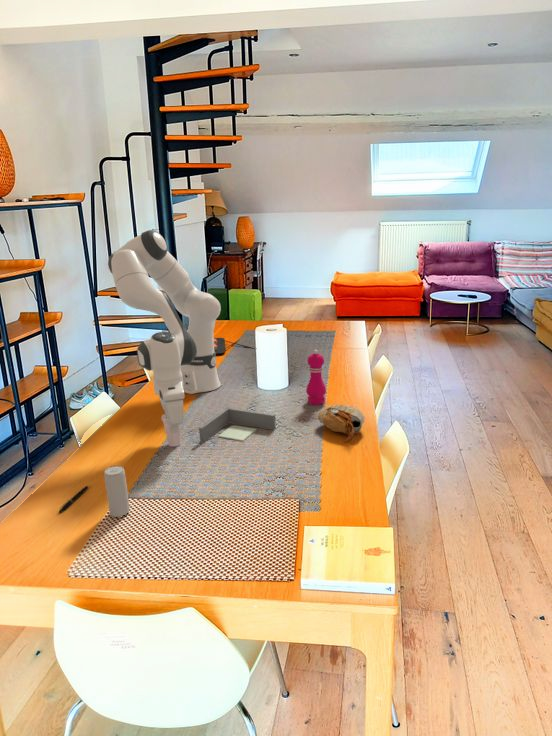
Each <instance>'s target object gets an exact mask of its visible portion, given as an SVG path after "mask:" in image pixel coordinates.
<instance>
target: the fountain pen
mask: <svg viewBox="0 0 552 736" xmlns="http://www.w3.org/2000/svg"><path fill="white" fill-rule="evenodd" d="M90 485H91V483H89V484H88V485H85V486H84V487H83V488H82V489H81V490H80V491H78V492H77V493H76V494H75V495H73V496H72V497H71V498H70V499H67V500H66V501H65V502H64V503H63V504H62V505H61V506H60V507H59V510H58V513H59V514H60V513H63V512H64V511H66V510H67V509H69V507H71V505H72V504H74V502H75V501H76V500H78V499H79V498H80V497H81V496H82V495H83V494H84V493H85V492H86V491H87V490H88V488H89V487H90Z"/></svg>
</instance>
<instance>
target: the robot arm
mask: <svg viewBox="0 0 552 736" xmlns="http://www.w3.org/2000/svg"><path fill="white" fill-rule="evenodd" d="M107 267H108V270H109V272H110V273H111V274H112V277H113V282H114V285H115V288H116V292H117V294H118V296H119V300H121V301H122V303H124V305H126V306H128V307H130V308H132V309H135V310H139V311H140V310H141V311H146V312H150V313H154V314H156V315H158V316H159V317H160V318H162V321H164V324H165V326H166V328H167V329H168V331H159V332H156V333H153V334H151V336H150V338H148V339H145V340H143V341H141V342H140V344H139V345H138V347H137V349H136V354H137V362H138V366H140V367H142V368H143V369H144V370H147V371H149V372H150V371H152V373H153V374H152V383H153V389H154V390H153V391H154V394H155V395H157V396H158V398H159V399H160V400H159V401H160V404H161V407H162V408H163V411H164V414H165V413H166V415H167V418H168V420H169V422H170V424H171V429H172V433H178V425H179V424H181V425H182V424H183V422H184V400H183V399H185V393H186V394H188V395H193V394H194V395H195V394H197V393H204V392H210V391H211V392H212V391H214V390H218V389H219V388H220V387H221V385H222V384H221V382H220V379H219V375H218V374H219V373H218V369H217V356H216V355H217V354H216V353H215V351H214V339H213V338H214V330H215V324H216V320H217V318H219V316H220V314H221V311H222V309H221V308H222V307H221V303H220V301H219V300H218V299H217V298H216V297H215V296H214V295H212V294H211V293H209V292H204V291H201V290H199V289H198V288H197V287H196V286H195V285H194V284H193V282H192V280H191V278H190V275H189V272H187V271H186V270H185V269H184V267H183V266H182V265H181V263H180V262H179V261H178V260H177V259H176V258H175V257H174V256H173V255H172V254H171V253H170V252H169V250H168V244H167V242H166V240H165V238H164V237H163V235H161V233H159V231H156V230H154V229H149V230H146V231H144V232H141V234H139V235H137V236H134V237H133V238H132V239H130V240H128V241H127V242H126V243H125V244H124V245H122V246H121V247H120V248H118V249H117V250H116V251H113V253H111V254H110V256H109V257H108V260H107ZM150 277H151V279H152V280H153V281H154V282H155V283H156V284H157V285H158V286H159V288H161V289H162V290H163V291H162V290H160V289H158V288H157V287H156V286H155V285H154V283H153V282H152V280H151V279H150ZM177 311H178V312H179V314H181V315H182V316H185V317H187V318H188V321H189V322H188V327H187V329H186V327H185V326H184V324H183V321H182V320H181V317H180V316H179V314H178V312H177Z"/></svg>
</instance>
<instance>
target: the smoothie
mask: <svg viewBox="0 0 552 736" xmlns="http://www.w3.org/2000/svg"><path fill="white" fill-rule="evenodd" d="M161 421H162V422H163V426H164V431H165V435H166V438H167V444H168V446H169V447H178V446H180V445H181V444H182V443H181V442H182V441H181V440H182V438H181V437H182V424H179V425H178V433H172V429H171V424H170V422H169V420H168V418H167V415H166V413H165V412H164V414H162V415H161Z"/></svg>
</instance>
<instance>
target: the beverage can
mask: <svg viewBox="0 0 552 736" xmlns="http://www.w3.org/2000/svg"><path fill="white" fill-rule="evenodd" d="M125 471H126V470H125V468H124V466H121V465H113V466H110V467H107V468H106V469H105V470H104V474H103V475H104V476H103V477H104V483H105V489H106V490H105V491H106V495H107V496H106V497H107V502H108V503H107V504H108V509H109V510H108V511H109V515H110V516H111V517H113V516H114V517H113V518H116V517H119V516H123V515H125V514H127V513H128V514H129V513H130V509H131V508H130V501H129V493H128V492H129V491H128V485H127V478H126V472H125ZM128 514H127V515H128ZM125 516H126V515H125ZM123 517H124V516H123ZM119 518H120V517H119Z"/></svg>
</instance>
